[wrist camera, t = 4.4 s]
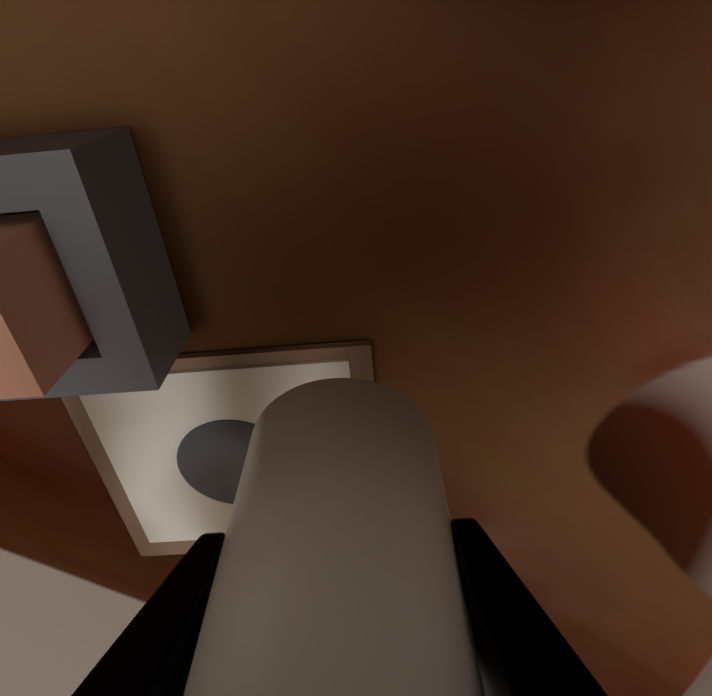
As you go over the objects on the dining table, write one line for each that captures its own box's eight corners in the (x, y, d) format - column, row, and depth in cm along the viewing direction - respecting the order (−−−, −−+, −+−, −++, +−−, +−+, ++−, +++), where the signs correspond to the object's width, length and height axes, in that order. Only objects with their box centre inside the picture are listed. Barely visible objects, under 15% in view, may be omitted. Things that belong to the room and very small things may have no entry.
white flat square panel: (370, 339, 21) (371, 355, 20) (386, 536, 28) (387, 555, 27) (51, 363, 22) (36, 379, 21) (143, 550, 28) (135, 569, 27)
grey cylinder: (439, 366, 10) (774, 1655, 2) (438, 511, 12) (594, 1380, 4) (226, 381, 10) (-238, 1614, 2) (265, 521, 12) (106, 1371, 4)
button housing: (128, 126, 16) (69, 149, 13) (191, 332, 21) (159, 390, 17) (-101, 148, 17) (-216, 175, 13) (7, 346, 21) (-60, 405, 18)
